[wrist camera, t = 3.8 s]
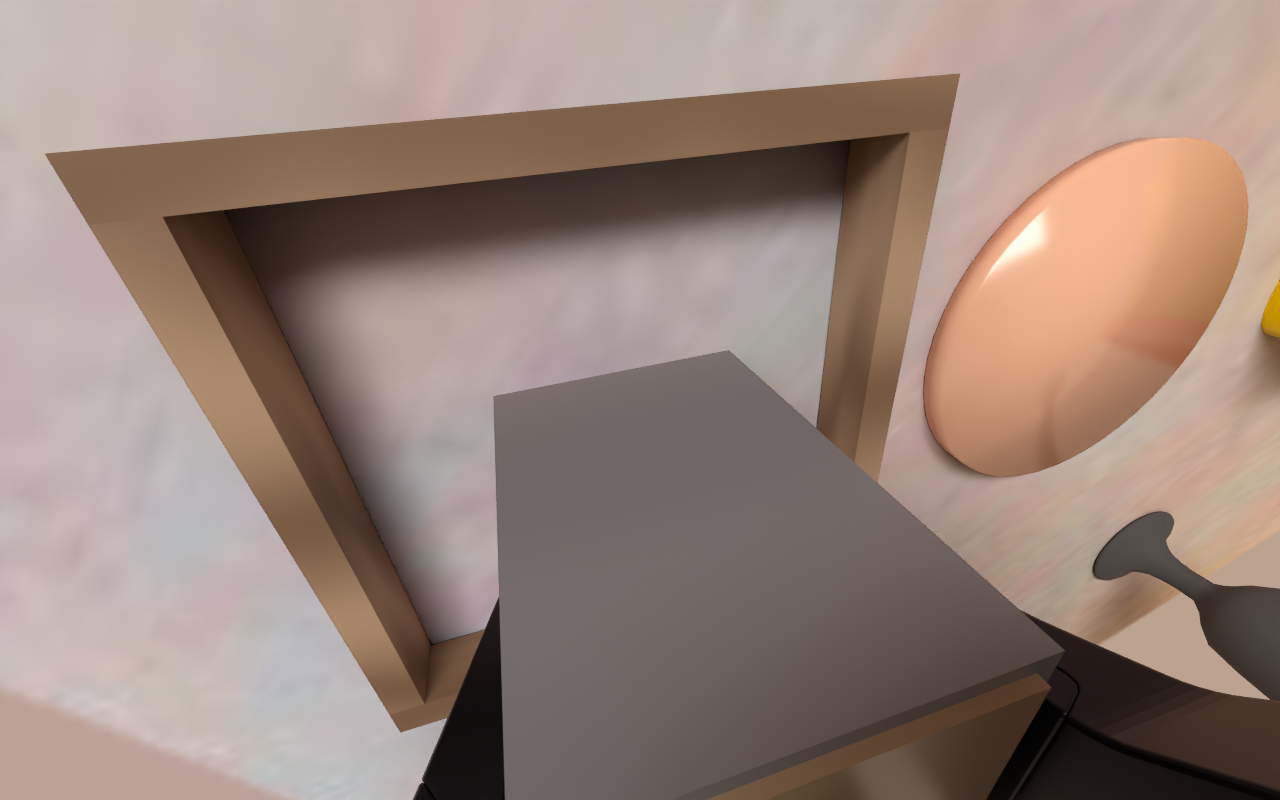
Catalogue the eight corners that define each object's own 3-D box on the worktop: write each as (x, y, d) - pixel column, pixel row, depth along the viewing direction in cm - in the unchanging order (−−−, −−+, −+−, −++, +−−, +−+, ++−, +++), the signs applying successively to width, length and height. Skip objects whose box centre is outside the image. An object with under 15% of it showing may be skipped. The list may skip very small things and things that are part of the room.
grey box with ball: (727, 521, 14) (1089, 1103, 6) (540, 572, 13) (638, 1378, 5) (729, 350, 12) (1423, 969, 3) (493, 396, 11) (525, 1548, 2)
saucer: (1128, 430, 22) (1149, 439, 21) (896, 494, 19) (911, 507, 19) (1282, 120, 16) (1317, 119, 15) (974, 159, 13) (999, 161, 13)
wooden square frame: (823, 550, 20) (855, 588, 18) (409, 672, 17) (400, 732, 15) (892, 81, 12) (959, 73, 10) (128, 149, 9) (45, 154, 7)
